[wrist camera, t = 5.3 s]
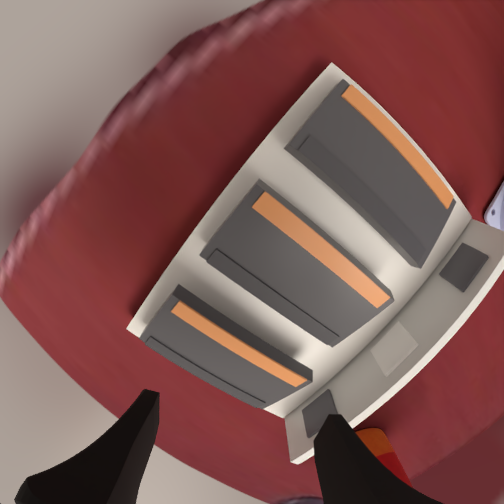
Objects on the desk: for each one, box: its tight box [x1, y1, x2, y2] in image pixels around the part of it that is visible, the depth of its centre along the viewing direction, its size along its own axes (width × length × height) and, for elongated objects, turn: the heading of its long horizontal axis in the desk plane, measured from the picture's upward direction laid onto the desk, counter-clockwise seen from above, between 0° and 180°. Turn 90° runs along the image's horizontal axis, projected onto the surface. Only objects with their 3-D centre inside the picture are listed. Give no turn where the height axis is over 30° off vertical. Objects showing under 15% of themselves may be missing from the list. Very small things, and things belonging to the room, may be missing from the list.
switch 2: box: [199, 179, 395, 348], centre depth 16 cm, size 5×10×1 cm, turn 52°
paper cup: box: [355, 428, 413, 488], centre depth 19 cm, size 8×8×14 cm
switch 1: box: [283, 79, 456, 269], centre depth 14 cm, size 5×10×1 cm, turn 52°
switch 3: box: [139, 284, 313, 409], centre depth 17 cm, size 5×10×1 cm, turn 52°
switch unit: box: [127, 62, 504, 464], centre depth 16 cm, size 21×15×6 cm
